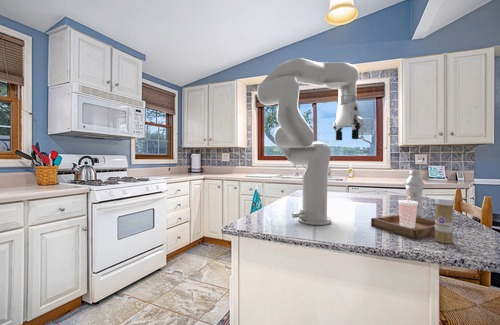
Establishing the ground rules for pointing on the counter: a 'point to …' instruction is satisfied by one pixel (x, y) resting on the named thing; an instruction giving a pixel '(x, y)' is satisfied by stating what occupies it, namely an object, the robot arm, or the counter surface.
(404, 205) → the beverage cup
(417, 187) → the plastic bottle
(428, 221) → the walnut tray
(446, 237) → the sprinkles bottle
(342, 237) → the counter surface
